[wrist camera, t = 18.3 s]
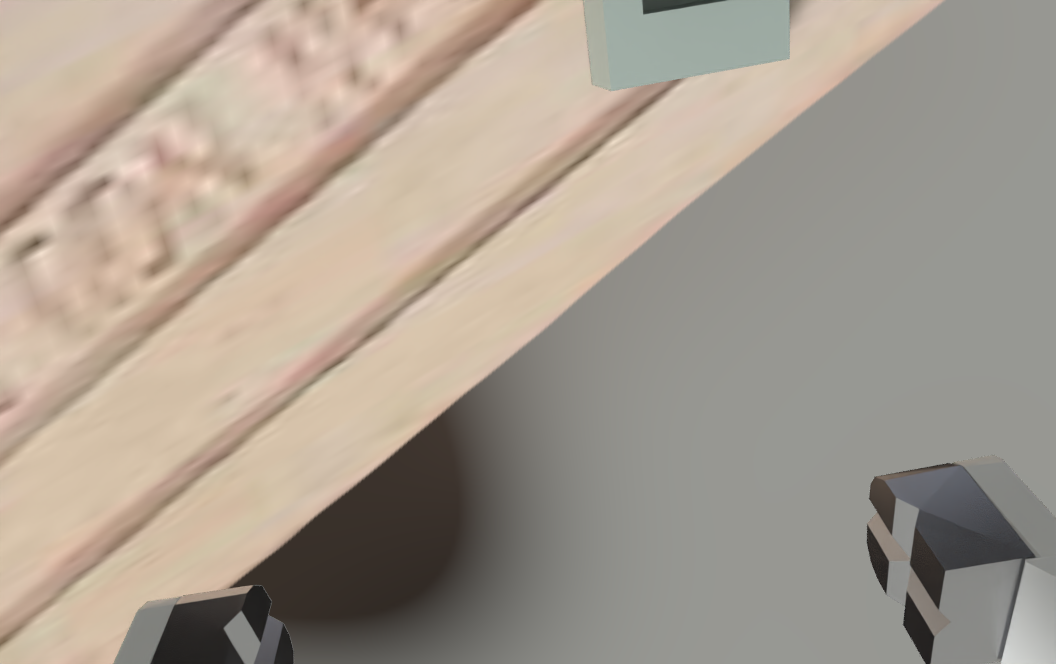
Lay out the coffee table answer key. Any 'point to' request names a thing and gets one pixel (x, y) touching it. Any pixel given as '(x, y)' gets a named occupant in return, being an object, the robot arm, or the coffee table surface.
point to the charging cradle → (681, 38)
